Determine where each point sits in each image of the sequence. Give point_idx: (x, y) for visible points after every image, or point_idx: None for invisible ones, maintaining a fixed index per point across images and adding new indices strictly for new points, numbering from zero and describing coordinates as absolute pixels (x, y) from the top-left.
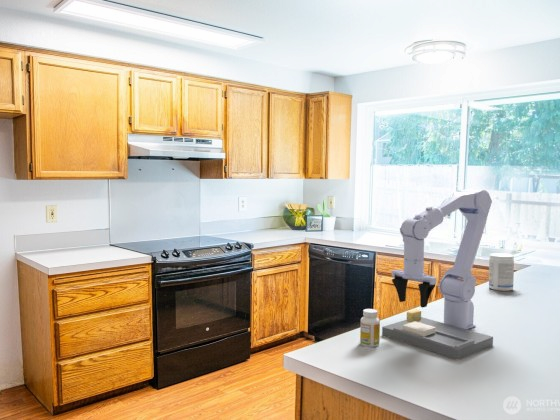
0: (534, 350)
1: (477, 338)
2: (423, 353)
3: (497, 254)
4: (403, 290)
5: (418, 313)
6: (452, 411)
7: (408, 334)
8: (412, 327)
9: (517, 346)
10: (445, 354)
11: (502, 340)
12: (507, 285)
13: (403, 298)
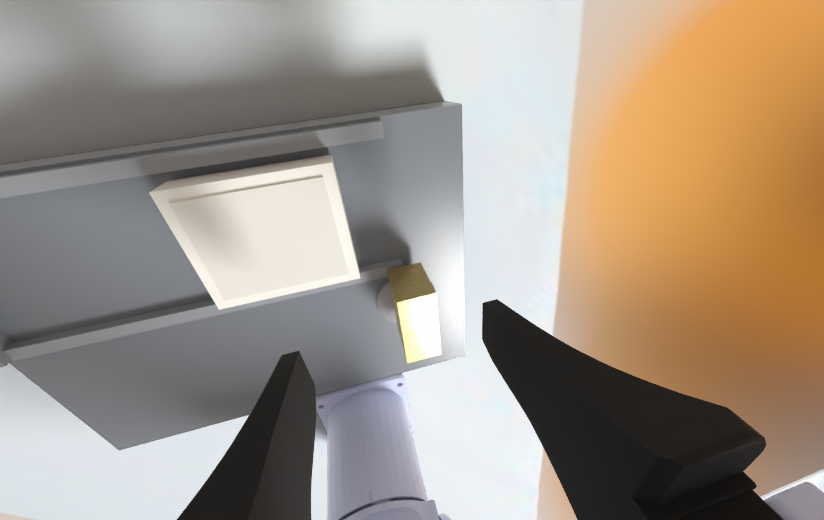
0: (55, 485)
1: (103, 399)
2: (59, 75)
3: None
4: (534, 398)
5: (402, 338)
6: None
7: (258, 138)
8: (258, 184)
9: (111, 465)
10: None
11: (187, 455)
12: None
13: (493, 341)
